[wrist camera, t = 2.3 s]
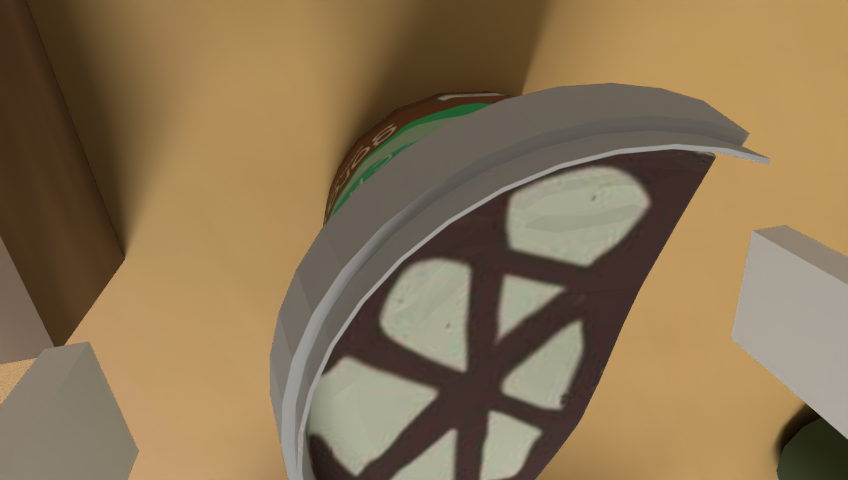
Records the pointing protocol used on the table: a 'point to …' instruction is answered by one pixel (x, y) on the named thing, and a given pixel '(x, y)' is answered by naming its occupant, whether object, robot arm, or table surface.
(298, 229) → the table surface
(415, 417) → the food container
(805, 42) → the table surface
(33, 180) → the walnut plinth
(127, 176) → the table surface
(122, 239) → the table surface
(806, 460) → the character mug
